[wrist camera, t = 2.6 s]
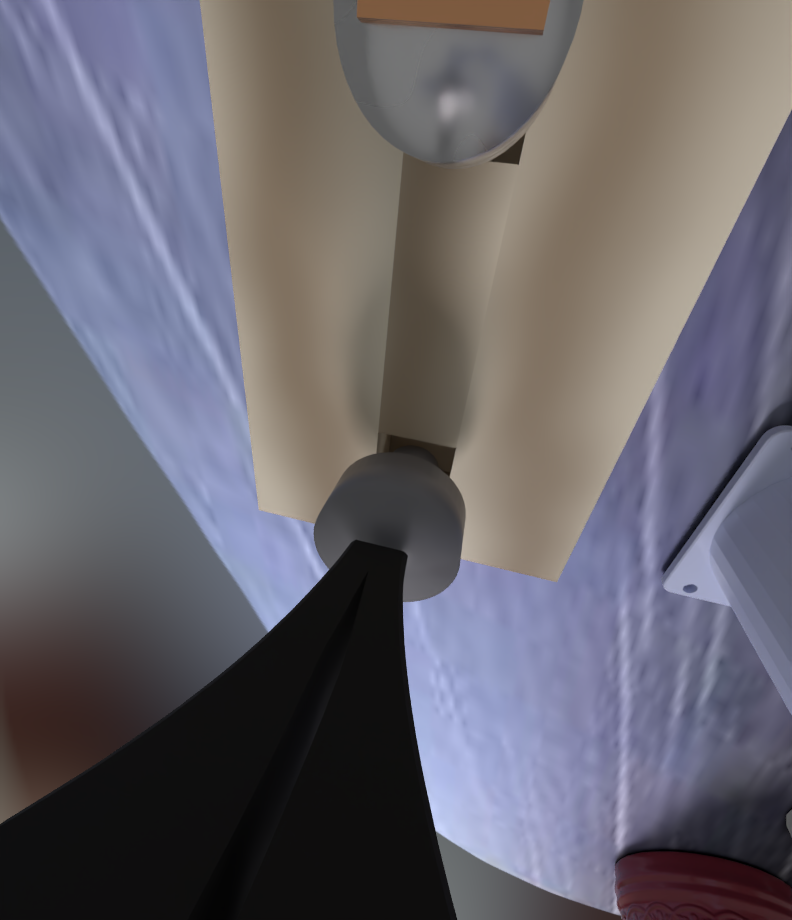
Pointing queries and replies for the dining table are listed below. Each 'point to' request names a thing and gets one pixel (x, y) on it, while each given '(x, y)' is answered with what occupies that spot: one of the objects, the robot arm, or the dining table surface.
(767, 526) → the robot arm
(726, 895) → the canister
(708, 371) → the dining table surface
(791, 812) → the mechanical component
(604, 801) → the dining table surface
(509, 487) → the mount board
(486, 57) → the pot knob
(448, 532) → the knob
